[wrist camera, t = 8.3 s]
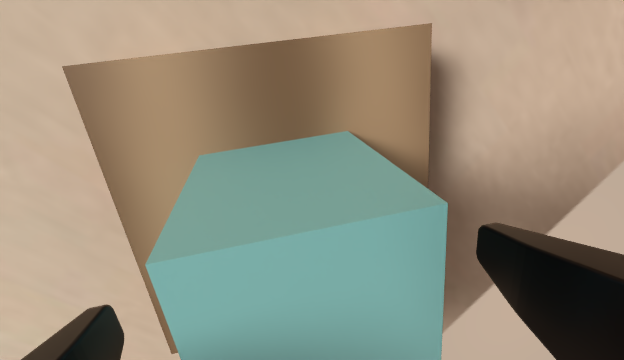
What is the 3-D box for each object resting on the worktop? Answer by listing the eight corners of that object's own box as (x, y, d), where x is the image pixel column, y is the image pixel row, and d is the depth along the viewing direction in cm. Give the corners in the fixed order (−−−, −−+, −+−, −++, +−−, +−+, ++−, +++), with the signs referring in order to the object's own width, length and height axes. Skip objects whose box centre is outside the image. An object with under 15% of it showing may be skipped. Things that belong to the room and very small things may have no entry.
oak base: (184, 302, 16) (171, 353, 13) (106, 64, 12) (62, 66, 9) (396, 256, 17) (425, 294, 14) (392, 30, 13) (431, 23, 10)
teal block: (231, 279, 12) (219, 460, 7) (199, 155, 10) (145, 264, 5) (357, 252, 13) (439, 397, 7) (347, 130, 11) (447, 203, 6)
